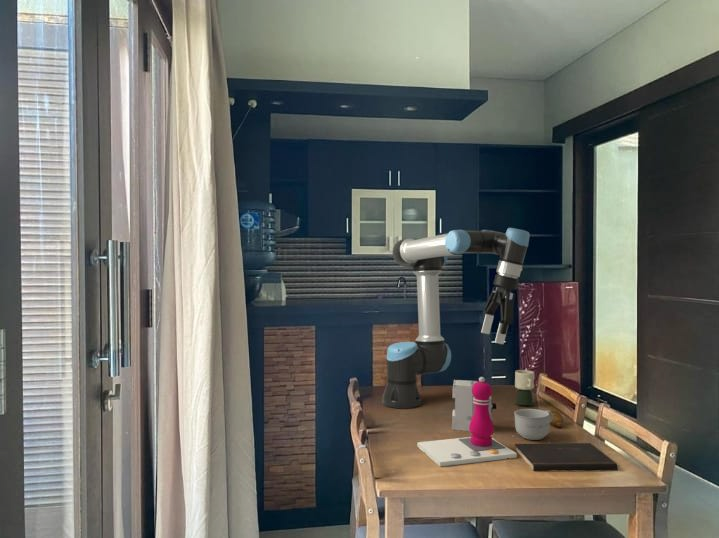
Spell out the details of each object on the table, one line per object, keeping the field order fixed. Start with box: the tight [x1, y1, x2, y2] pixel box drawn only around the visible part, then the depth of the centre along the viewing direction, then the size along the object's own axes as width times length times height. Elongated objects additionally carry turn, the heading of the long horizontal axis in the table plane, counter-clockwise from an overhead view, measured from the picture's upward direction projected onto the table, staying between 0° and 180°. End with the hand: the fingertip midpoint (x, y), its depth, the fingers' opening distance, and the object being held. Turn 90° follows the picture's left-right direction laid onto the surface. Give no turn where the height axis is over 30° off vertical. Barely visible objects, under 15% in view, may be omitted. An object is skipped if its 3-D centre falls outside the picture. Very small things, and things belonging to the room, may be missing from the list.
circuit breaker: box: [451, 379, 497, 432], centre depth 179 cm, size 8×14×15 cm, turn 78°
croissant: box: [548, 408, 564, 429], centre depth 185 cm, size 14×7×5 cm, turn 2°
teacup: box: [513, 408, 553, 441], centre depth 170 cm, size 14×11×8 cm
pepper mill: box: [469, 376, 495, 446], centre depth 160 cm, size 7×7×20 cm
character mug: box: [514, 369, 535, 407], centre depth 206 cm, size 11×7×13 cm, turn 7°
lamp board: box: [417, 436, 518, 468], centre depth 157 cm, size 16×24×2 cm, turn 106°
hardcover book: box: [514, 442, 619, 472], centre depth 152 cm, size 16×23×2 cm
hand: (491, 338), depth 175 cm, fingers open, 13 cm apart
